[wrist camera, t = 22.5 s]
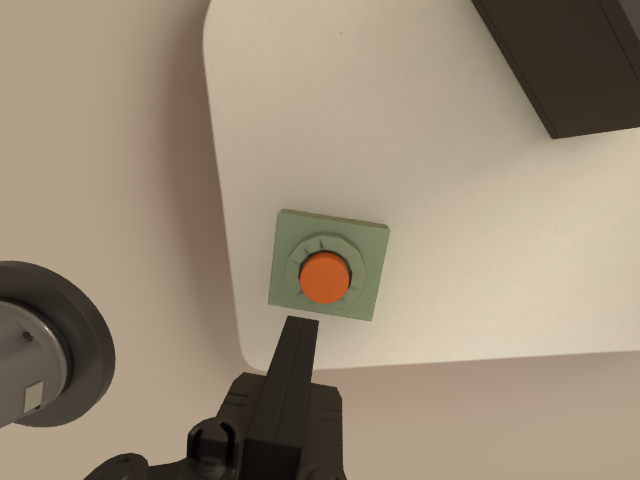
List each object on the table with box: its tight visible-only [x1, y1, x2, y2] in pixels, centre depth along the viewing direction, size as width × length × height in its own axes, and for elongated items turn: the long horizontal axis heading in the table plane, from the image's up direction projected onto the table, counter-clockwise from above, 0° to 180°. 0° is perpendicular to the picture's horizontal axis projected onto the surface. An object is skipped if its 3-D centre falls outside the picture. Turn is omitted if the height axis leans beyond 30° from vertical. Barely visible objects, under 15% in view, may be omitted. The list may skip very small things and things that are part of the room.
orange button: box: [300, 252, 349, 304], centre depth 25 cm, size 4×4×2 cm
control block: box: [268, 209, 390, 321], centre depth 27 cm, size 10×9×4 cm
